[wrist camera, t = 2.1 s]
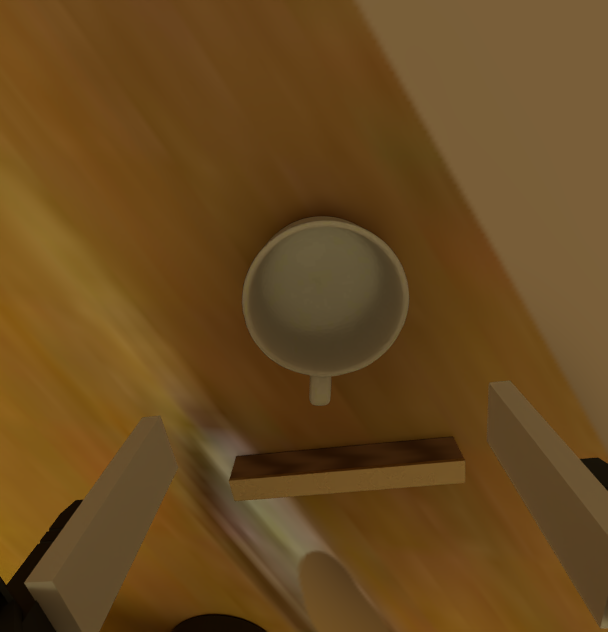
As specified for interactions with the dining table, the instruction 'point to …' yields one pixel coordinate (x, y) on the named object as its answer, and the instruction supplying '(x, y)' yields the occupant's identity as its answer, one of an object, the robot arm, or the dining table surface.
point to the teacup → (325, 299)
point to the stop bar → (348, 469)
